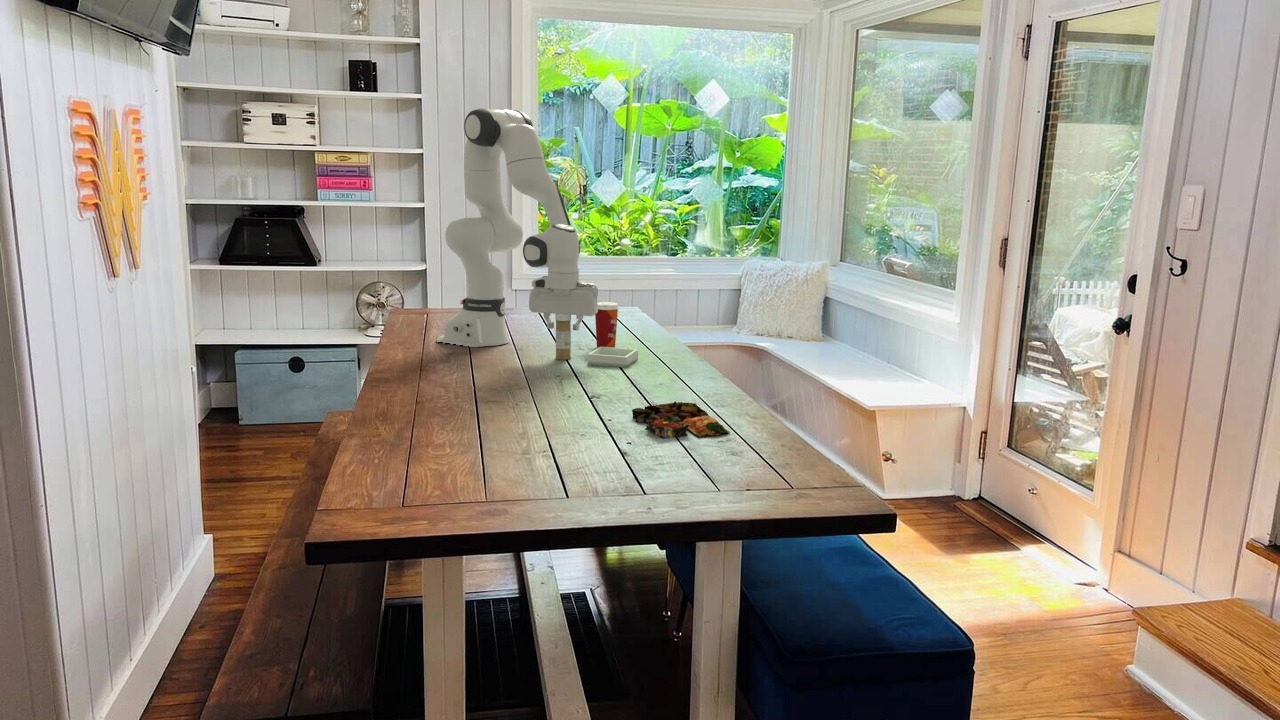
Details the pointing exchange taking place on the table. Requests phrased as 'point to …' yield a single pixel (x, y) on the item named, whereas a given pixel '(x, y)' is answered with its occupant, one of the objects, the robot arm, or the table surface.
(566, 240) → the robot arm
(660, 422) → the food
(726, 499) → the table surface
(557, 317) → the sprinkles bottle
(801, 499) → the table surface
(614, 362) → the tray
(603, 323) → the paper cup
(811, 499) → the table surface
